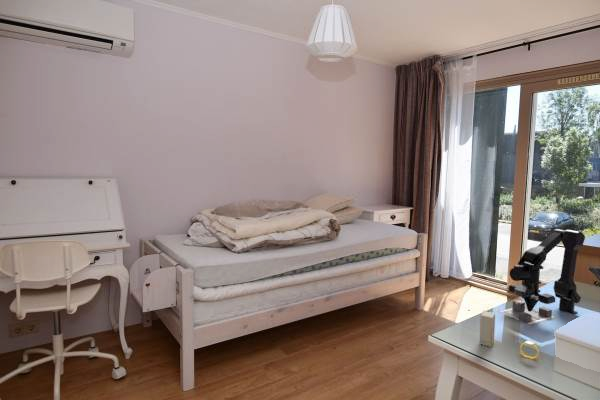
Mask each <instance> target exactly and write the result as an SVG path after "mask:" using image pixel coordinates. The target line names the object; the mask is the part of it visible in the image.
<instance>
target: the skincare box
mask: <svg viewBox="0 0 600 400" xmlns="http://www.w3.org/2000/svg"><path fill="white" fill-rule="evenodd" d="M479 323H480V328H479V345H480V344H483V345H482V346H484V345H486V346H485V347H487V346H489V347H488V348H492V346H493V345H494V342H495V329H496V327H495V326H496V312H492V311H487V310H483V311H482V312H481V314H480V322H479Z"/></svg>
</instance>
